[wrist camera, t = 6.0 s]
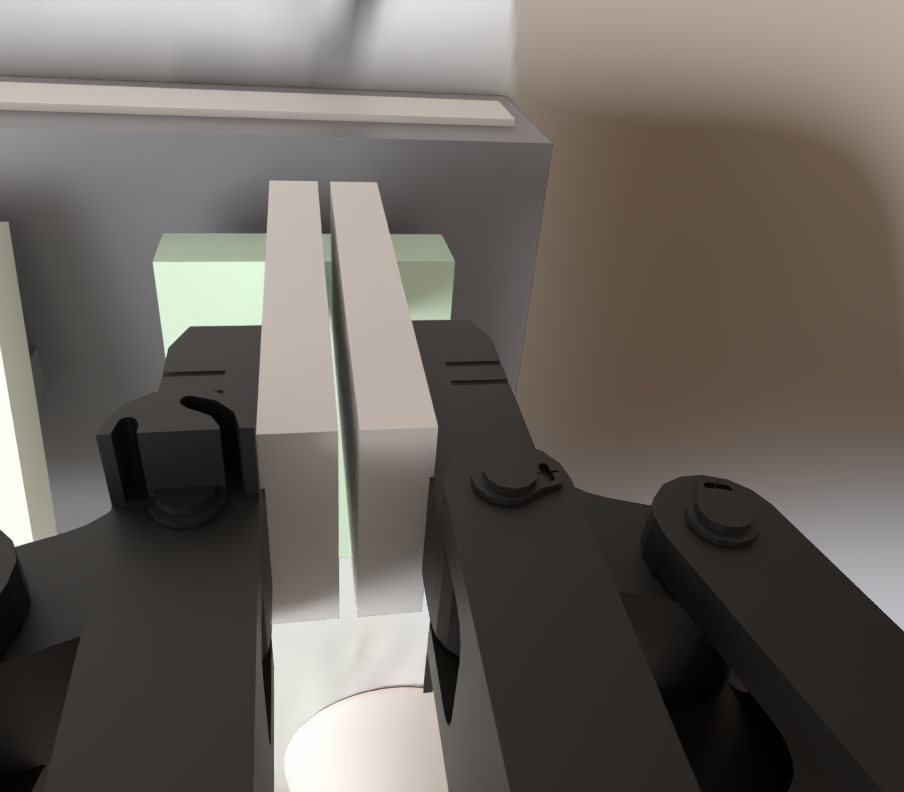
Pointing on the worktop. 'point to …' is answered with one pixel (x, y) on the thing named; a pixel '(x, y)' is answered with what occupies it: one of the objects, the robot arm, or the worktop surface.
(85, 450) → the switch panel
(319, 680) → the worktop surface
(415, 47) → the worktop surface
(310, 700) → the worktop surface
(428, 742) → the mug
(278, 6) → the worktop surface
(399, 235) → the rocker green
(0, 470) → the rocker cream
